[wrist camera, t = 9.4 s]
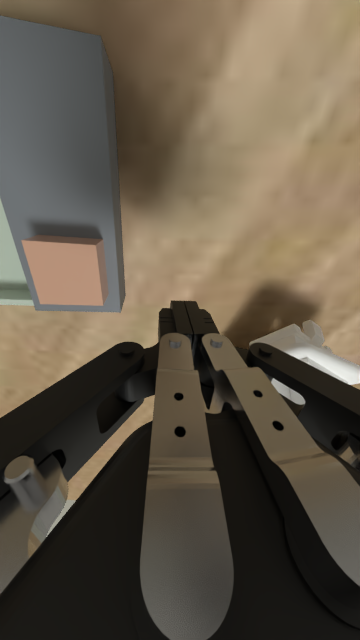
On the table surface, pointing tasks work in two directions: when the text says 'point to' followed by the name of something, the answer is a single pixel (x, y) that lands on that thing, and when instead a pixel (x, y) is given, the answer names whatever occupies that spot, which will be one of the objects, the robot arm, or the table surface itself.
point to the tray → (11, 269)
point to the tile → (67, 269)
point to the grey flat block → (59, 145)
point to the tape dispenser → (309, 355)
